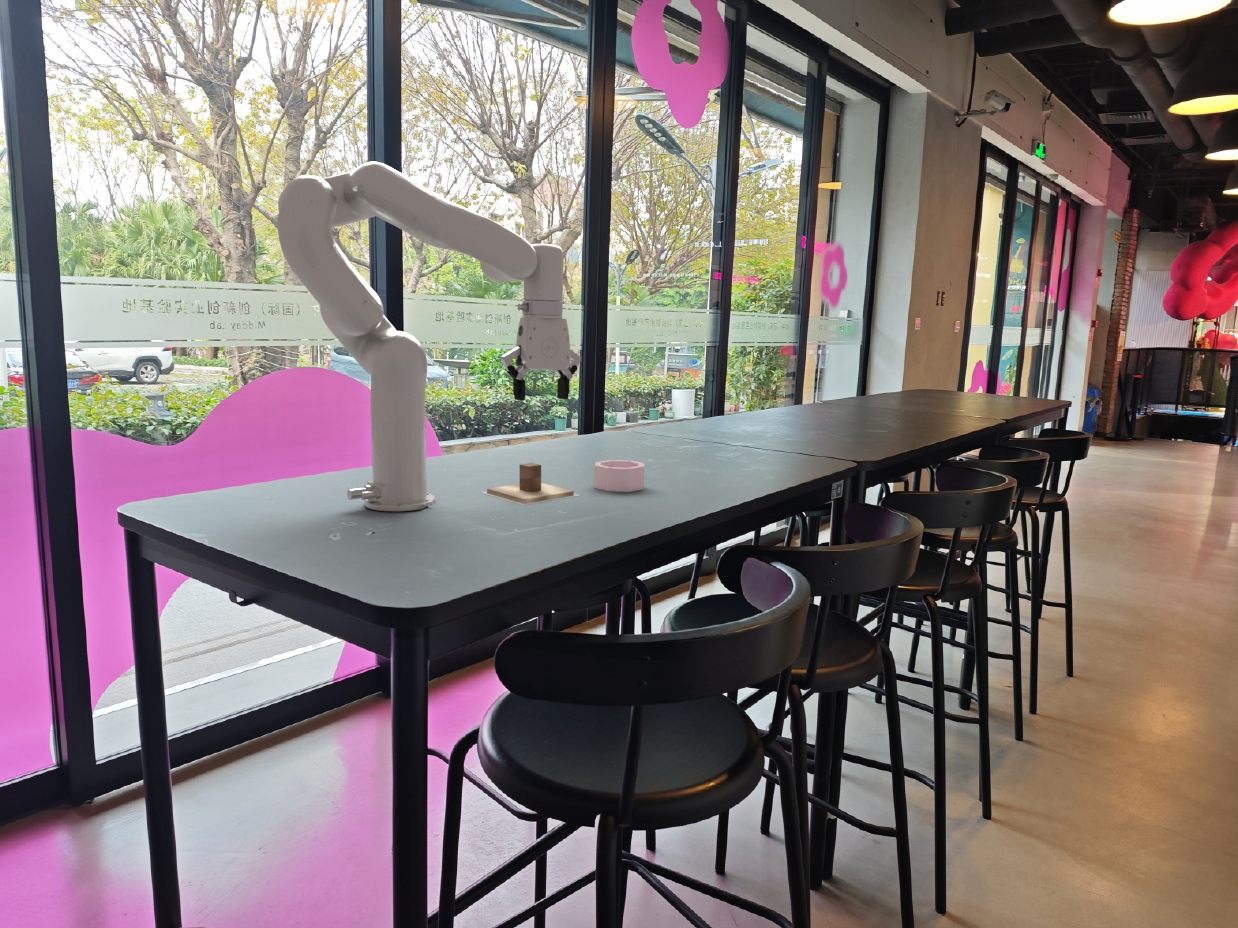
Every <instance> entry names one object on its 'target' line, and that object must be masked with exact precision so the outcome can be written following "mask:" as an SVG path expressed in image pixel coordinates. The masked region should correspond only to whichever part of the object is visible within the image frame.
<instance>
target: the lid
mask: <svg viewBox="0 0 1238 928" xmlns="http://www.w3.org/2000/svg"><path fill="white" fill-rule="evenodd" d="M486 492H487V493H490V494H493V495H497V496H500V497H504V498H507V499H510V500H514V501H517V502H521V503H529V502H535V501H541V500H547V499H553V498H559V497H565V496H572V495H574V494H575V491H574V490H570V489H567V488H564V487H559V486H556V485H551V484H549V483H548V484H547V483H545V482H544V483H543V482H542V464H539V463H534V462H528V463H519V483H516V484H511V485H510V484H509V485H504V486H496V487H491V488H486Z"/></svg>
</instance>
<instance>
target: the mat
mask: <svg viewBox="0 0 1238 928" xmlns="http://www.w3.org/2000/svg"><path fill="white" fill-rule="evenodd" d="M480 494H483V495H486V496H489V497H494V498H496V499H499V500H503V501H506V502H511V503H513V504H517V505H521V506H526V505H531V504H532V505H533V504H539V503H545V502H551V501H556V500H557V501H558V500H562V499H563V500H564V499H568V498H569V499H570V498H575V497H580V496H581V494H577V493H574V495H572V496H565V497H559V498H553V499H547V500H541V501H535V502H529V503H521V502H517V501H514V500H510V499H507V498H504V497H500V496H497V495H493V494H490V493H487V491H481V492H480Z"/></svg>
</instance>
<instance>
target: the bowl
mask: <svg viewBox="0 0 1238 928" xmlns="http://www.w3.org/2000/svg"><path fill="white" fill-rule="evenodd" d="M593 478H594V481H593V482H594V488H595V489H598V490H601V491H606V492H625V493H627V492H628V493H629V492H634V491H635V492H636V491H640V490H645V489H644V487H645V462H640V461H636V460H630V459H629V460H627V459H626V460H625V459H624V460H622V459H607V460H601V461H596V462H595V464H594V477H593Z"/></svg>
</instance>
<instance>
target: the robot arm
mask: <svg viewBox="0 0 1238 928" xmlns="http://www.w3.org/2000/svg"><path fill="white" fill-rule="evenodd" d="M277 206H278V207H277V208H278V218H277V233H278V241H279V244H280V248H281V252H282V253H283V254H282V255H283V257H284V258H285V260H286V262H287V264H288V265H289V268H290V269H291V270H292V271H293V273H294V274H295V275H296V276H297V278H298V279H299V280H300V282H301V283H302V284H303V285H304V286H305V288H306V289H307V291H308V292H309V293H310V295H311V296H312V297H313V298H314V299H315V301H316V302H317V303H318V304H319V311H320V315H321V318H322V320H323V322H324V324H325V326H327V328H328V329H329V331H330V332H331V333H332V335H334V337H335V338H336V339H337V341H338V342H340V344H341V345H342V346H343V347H344V348H345V350H346V351H347V352H348V353H349V354H350V355H351V356H352V358H353V359H354V360H355V361H356V362H357V363H358V364H359V365H360V367H361V368H362V369H363V370H364V371H365V372H366V373H367V374H368V375H370V376H371V382H370V383H371V386H370V424H371V425H370V429H371V430H370V431H371V433H370V434H371V459H372V460H371V461H372V463H371V464H372V480H368V481H366V482H367V484H366V485H364V486H363V487H356V488H355V487H354V488H348V489H347V490H346V495H347V496H346V497H347V499H348V500H349V501H350V500H351V501H352V500H359V499H361V500H362V501H364V506H365V507H366V508H368V509H370V510H374V511H380V512H408V511H417V510H418V511H419V510H424V509H428V508H429V507H430V506H431V505H433V504H435V503H436V496H435V495H433V494H431V493H429V492H428V489H427V488H428V487H427V485H428V484H427V450H426V448H427V443H426V438H427V437H426V386H427V375H428V359H427V358H428V357H427V354H426V351H425V348H424V346H423V345H422V343H421V342H420V341H419V339H418V338H416V337H415V336H414V335H412V334H410V333H408V332H406V331H402V330H397V329H396V327H395V326H394V325H393V324H392V323H391V322H390V321H389V320H388V318H387V316H385V314H384V312H385V310H384V305H383V302H382V299H381V298H380V297H379V295H378V293H377V292H376V290H374V289H373V288H372V286H371V285H369V283H368V282H367V280H365V279H364V277H363V276H362V275H361V274H360V272H358V269H356V268H355V266H353V265H352V262H350V260H349V258H348V257H347V256H346V255H345V253H344V252H343V251H342V249H341V248H340V246H339V245H338V243H337V241H336V239H335V236H334V232H333V228H336V227H337V228H338V227H342V226H346V225H350V224H354V223H357V222H360V221H364V220H368V219H371V218H375V217H378V218H379V219H381V220H382V221H385V222H387V223H388V224H390V225H392V226H394V227H396V228H398V229H399V230H402V231H403V232H406V233H407V234H409V235H411V236H412V237H414V238H416V239H417V240H419V241H421V242H422V243H425V244H427V245H430V246H432V247H435V248H438V249H443V250H444V249H445V250H449V251H453V252H457V253H459V254H464V255H466V256H469V257H471V258H473V259H476V260H478V261H479V265H480V266H479V267H480V269H481V270H482V272H483V274H484V275H485V276H486V277H487V278H488V279H490V280H491V281H493V282H497V283H510V282H523V300H522V302H521V303H518V304H517V310H518V311H521V312H522V315H523V316H522V317H520V320H519V322H518V329H517V333H516V340H515V341H516V342H515V343H516V344H515V348H512V350H509V351H508V352H505V353H504V354H503V355H501V356H500V361H501V362H502V365H503V367H504V370H505V371H506V372H507V373H508V375H509V376H510V378H511V379H512V381H513V383H512V395H513V397H514V400H516V401H520V402H523V401H525V400H526V380H525V379H524V377H525V375H526V374H527V373H528V371H529V370H531V371H556V372H557V374H558V375H559V378H557V387H556V388H557V391H556V393H557V394H556V396H557V398H558V399H559V400H560V399H561V400H569V395H570V380H571V379H572V378H573V375H575V373H576V372H577V371H578V367H579V365H580V363H581V361H582V356H581V355H579V354H577V353H576V352H574V351H573V350H571V342H570V341H571V340H570V334H569V327H568V322H567V321H568V320H567V318H563V310H564V309H563V298H564V297H563V296H564V295H563V293H564V256H565V255H564V251H563V249H562V248H561V247H560V246H559V245H555V244H547V243H534V244H531V243H530V242H529V241H528V240H527V239H525V237H524V238H523V237H522V236H521V235H519V234H517V233H516V232H515V231H512V229H511V230H510V229H509V228H507V227H505V226H504V225H502V224H500V222H499V223H498V222H497V221H494V220H493V219H491V218H489V217H487V216H484V215H482V214H480V213H477V212H474V211H472V210H470V209H468V208H466V207H464V206H461V205H460V204H457V203H454V202H452V201H450V200H449V199H447V198H444V197H443V196H441V195H439V194H437V193H436V192H435V191H432V190H430V189H429V188H427V187H425V186H424V185H422V184H420V183H418V182H417V181H415V180H414V179H413V178H411V177H408V176H407V175H405V174H403V173H402V172H400V171H398V170H396V169H394V168H393V167H392V166H389V165H387V164H385V163H383V162H378V161H368V162H364V163H363V164H361V165H359V166H357V167H356V168H355V169H354V170H351V171H347V172H344V173H340V174H336V175H332V176H328V177H323V178H321V177H319V176H317V175H313V174H312V175H311V174H303V175H299V176H297V177H295V178H294V179H292V180H291V181H290V182H289V183H287V185H286V186H285V188H284V189H283V190H282V191H281V193H280V194H279V197H278V202H277ZM513 359H515V364H516V366H514V365H513V363H512V362H513V361H512V360H513Z"/></svg>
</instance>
